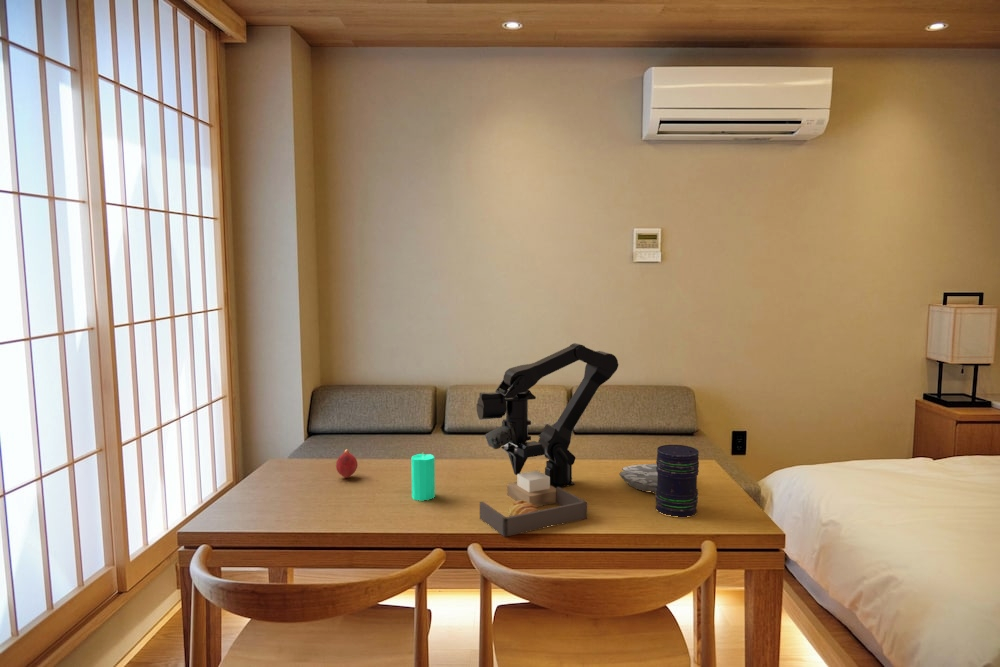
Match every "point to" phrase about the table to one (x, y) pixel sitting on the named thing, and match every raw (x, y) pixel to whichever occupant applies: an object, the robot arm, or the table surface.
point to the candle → (423, 477)
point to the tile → (533, 481)
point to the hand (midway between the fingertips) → (516, 474)
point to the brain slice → (641, 476)
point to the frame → (537, 515)
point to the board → (532, 495)
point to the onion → (346, 464)
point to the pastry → (521, 508)
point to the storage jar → (677, 480)
